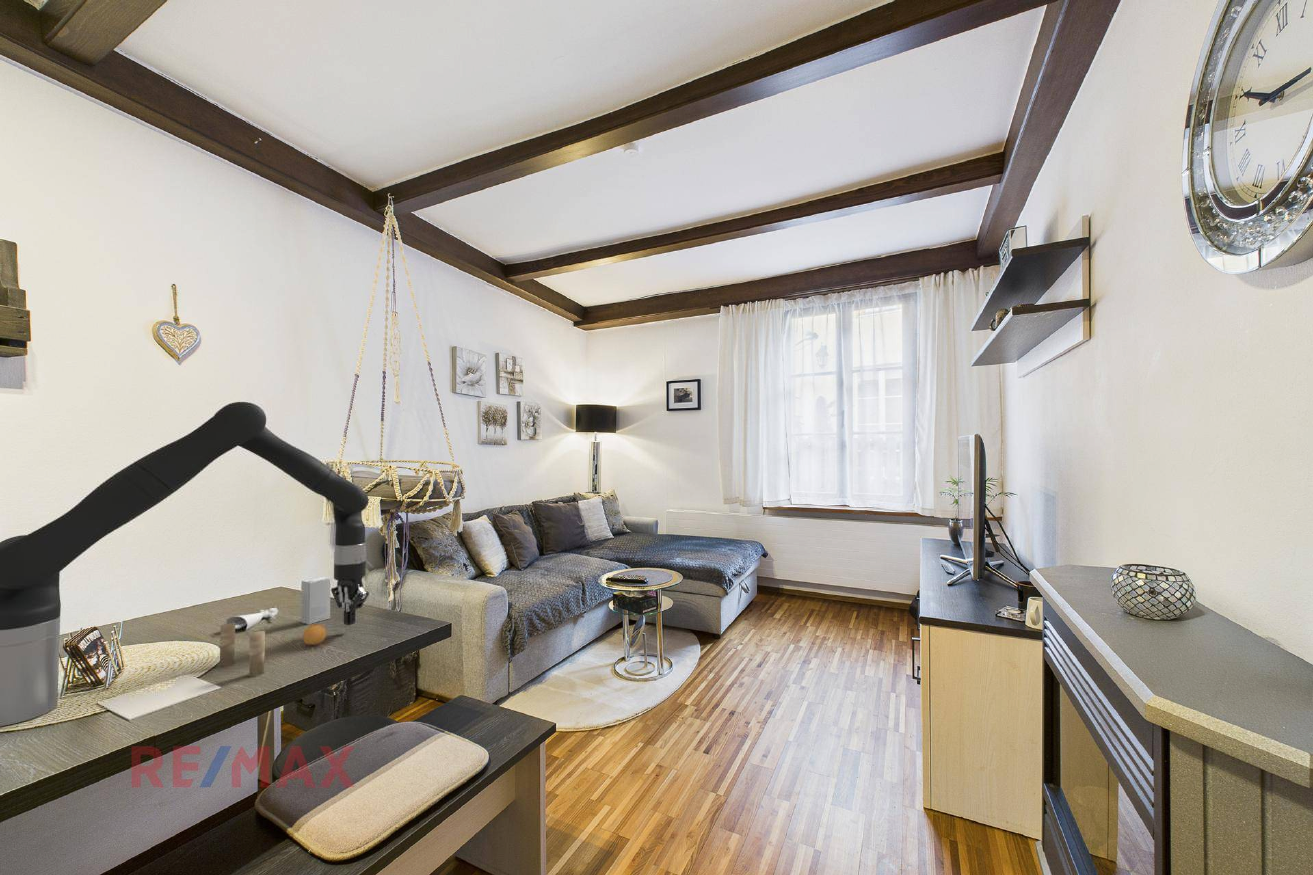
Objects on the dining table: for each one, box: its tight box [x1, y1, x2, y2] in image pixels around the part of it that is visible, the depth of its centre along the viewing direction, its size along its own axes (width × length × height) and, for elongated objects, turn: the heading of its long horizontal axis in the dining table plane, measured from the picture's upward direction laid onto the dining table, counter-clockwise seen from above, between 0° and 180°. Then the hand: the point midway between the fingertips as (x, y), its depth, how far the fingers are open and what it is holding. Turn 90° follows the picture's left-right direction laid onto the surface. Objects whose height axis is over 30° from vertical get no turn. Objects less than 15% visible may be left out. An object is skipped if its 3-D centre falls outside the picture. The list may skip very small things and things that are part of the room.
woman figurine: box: [223, 606, 279, 631], centre depth 145 cm, size 12×4×18 cm
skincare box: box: [300, 576, 331, 625], centre depth 148 cm, size 6×4×12 cm
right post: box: [248, 630, 266, 678], centre depth 113 cm, size 3×3×9 cm
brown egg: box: [302, 623, 327, 646], centre depth 130 cm, size 5×5×5 cm
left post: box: [219, 623, 236, 667], centre depth 118 cm, size 3×3×9 cm
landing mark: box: [97, 674, 222, 721], centre depth 103 cm, size 14×14×1 cm
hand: (349, 624), depth 138 cm, fingers closed
